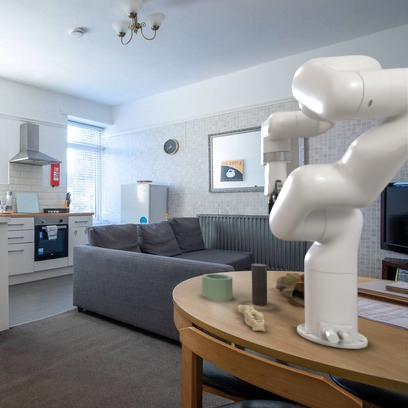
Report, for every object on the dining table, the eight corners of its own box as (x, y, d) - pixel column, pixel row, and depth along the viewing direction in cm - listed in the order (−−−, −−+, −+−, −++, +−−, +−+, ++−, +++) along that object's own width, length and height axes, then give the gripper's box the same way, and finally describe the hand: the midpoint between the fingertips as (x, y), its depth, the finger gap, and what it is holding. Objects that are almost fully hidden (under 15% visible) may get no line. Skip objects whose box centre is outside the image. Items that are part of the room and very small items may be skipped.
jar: (232, 303, 102) (232, 280, 102) (201, 299, 106) (200, 278, 106) (232, 296, 110) (232, 275, 110) (203, 293, 114) (203, 272, 114)
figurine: (283, 280, 97) (275, 265, 115) (282, 310, 97) (273, 290, 115) (347, 288, 90) (327, 270, 108) (345, 319, 91) (326, 297, 109)
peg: (267, 307, 97) (267, 266, 97) (252, 305, 98) (251, 265, 98) (266, 303, 100) (266, 264, 100) (251, 301, 102) (251, 263, 102)
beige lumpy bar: (270, 333, 78) (270, 318, 78) (253, 332, 79) (253, 317, 79) (245, 310, 95) (245, 298, 95) (231, 309, 96) (231, 297, 96)
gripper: (259, 163, 110) (259, 214, 110) (264, 156, 94) (265, 216, 94) (285, 161, 107) (286, 214, 107) (296, 154, 91) (296, 216, 91)
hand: (276, 215), depth 101 cm, fingers open, 9 cm apart
